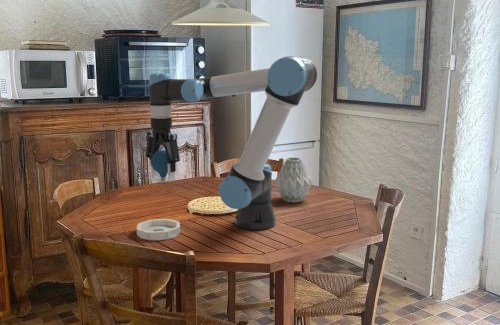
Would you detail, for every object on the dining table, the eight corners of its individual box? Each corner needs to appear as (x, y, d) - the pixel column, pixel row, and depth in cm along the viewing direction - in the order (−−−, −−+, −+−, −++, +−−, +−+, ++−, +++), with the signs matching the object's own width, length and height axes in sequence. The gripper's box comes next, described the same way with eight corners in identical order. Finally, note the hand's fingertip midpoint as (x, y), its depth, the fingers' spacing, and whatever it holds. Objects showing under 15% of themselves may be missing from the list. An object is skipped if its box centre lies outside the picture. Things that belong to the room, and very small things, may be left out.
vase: (271, 204, 215) (271, 161, 212) (278, 194, 231) (279, 154, 227) (309, 206, 212) (310, 163, 208) (314, 196, 227) (315, 156, 224)
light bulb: (152, 185, 181) (150, 152, 179) (151, 180, 189) (150, 148, 187) (175, 184, 183) (174, 151, 181) (173, 179, 191) (172, 147, 189)
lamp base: (189, 231, 181) (188, 224, 180) (157, 243, 169) (157, 235, 168) (159, 223, 190) (159, 216, 189) (128, 234, 178) (127, 226, 177)
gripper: (189, 118, 178) (190, 181, 182) (150, 114, 191) (152, 173, 195) (173, 120, 172) (175, 185, 177) (133, 116, 185) (136, 176, 190)
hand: (163, 178), depth 186 cm, fingers closed on light bulb, 8 cm apart
